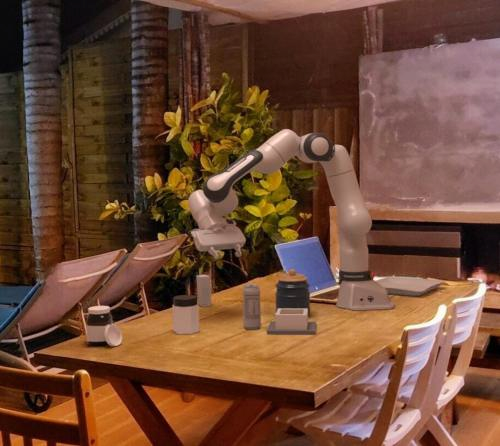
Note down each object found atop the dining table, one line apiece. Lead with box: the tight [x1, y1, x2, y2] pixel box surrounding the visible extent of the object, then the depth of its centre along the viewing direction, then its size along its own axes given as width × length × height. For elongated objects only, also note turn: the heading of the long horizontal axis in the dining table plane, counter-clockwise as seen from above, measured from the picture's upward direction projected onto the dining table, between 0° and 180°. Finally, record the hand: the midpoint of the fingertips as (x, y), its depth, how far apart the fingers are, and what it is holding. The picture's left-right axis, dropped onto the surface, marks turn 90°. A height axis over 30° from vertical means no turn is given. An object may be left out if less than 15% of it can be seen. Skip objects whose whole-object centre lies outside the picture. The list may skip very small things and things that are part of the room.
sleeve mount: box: [266, 308, 317, 336], centre depth 243 cm, size 16×14×6 cm
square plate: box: [375, 276, 445, 297], centre depth 310 cm, size 27×27×4 cm
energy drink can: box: [242, 283, 262, 331], centre depth 246 cm, size 6×6×15 cm
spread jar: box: [85, 305, 123, 347], centre depth 229 cm, size 12×11×12 cm
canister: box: [274, 268, 311, 318], centre depth 263 cm, size 13×13×18 cm
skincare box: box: [195, 274, 212, 308], centre depth 287 cm, size 6×4×12 cm
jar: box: [172, 294, 200, 335], centre depth 243 cm, size 9×8×12 cm
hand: (229, 256), depth 254 cm, fingers open, 8 cm apart
